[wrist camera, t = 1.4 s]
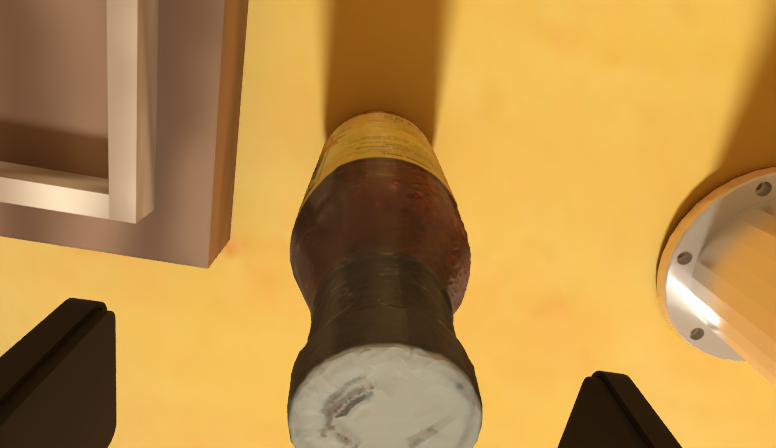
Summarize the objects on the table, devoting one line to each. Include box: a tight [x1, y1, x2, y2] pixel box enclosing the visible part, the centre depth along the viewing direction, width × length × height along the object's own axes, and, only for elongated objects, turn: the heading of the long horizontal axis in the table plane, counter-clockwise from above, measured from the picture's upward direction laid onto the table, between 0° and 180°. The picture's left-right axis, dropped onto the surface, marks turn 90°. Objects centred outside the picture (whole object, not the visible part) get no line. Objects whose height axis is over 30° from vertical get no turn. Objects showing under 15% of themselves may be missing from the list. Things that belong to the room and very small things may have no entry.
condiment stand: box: [0, 0, 248, 268], centre depth 23 cm, size 18×18×6 cm
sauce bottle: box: [287, 111, 482, 448], centre depth 19 cm, size 6×6×20 cm
